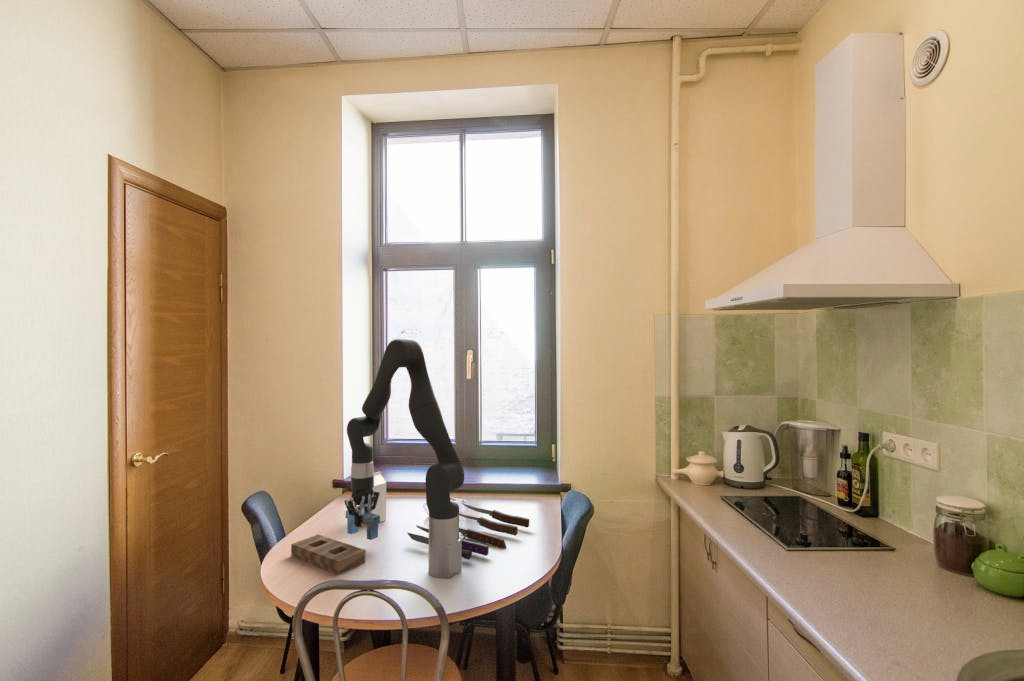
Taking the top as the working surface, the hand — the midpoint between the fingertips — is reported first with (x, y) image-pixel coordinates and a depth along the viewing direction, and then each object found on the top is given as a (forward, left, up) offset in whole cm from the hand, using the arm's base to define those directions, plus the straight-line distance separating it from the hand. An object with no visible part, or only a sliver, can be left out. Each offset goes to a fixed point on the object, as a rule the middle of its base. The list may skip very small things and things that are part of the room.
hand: (362, 524), depth 166 cm
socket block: (+1, +13, -7) cm, 15 cm away
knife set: (-26, -26, -8) cm, 37 cm away
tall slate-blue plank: (0, 0, -3) cm, 3 cm away
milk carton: (+16, -19, -8) cm, 26 cm away
